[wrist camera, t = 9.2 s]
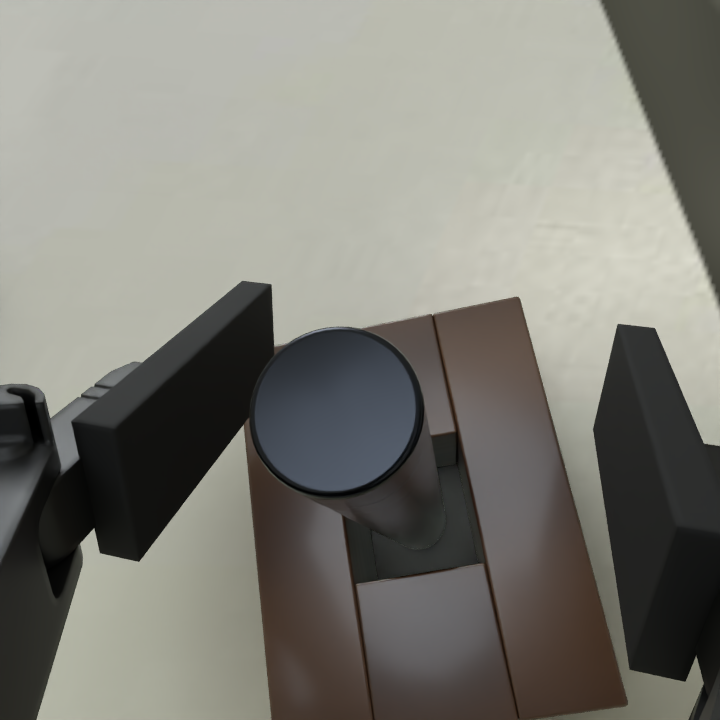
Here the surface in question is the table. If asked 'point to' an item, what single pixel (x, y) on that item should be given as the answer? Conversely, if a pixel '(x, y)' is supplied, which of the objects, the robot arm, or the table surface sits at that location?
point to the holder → (447, 586)
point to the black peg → (351, 432)
